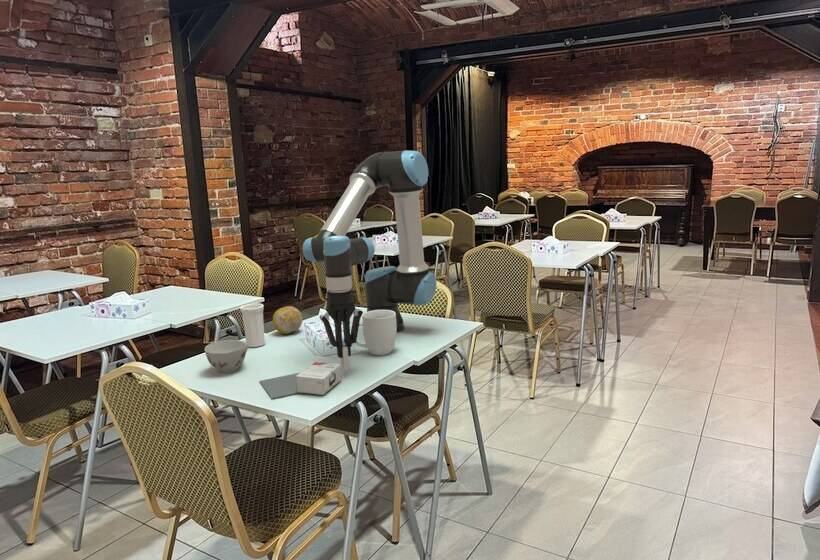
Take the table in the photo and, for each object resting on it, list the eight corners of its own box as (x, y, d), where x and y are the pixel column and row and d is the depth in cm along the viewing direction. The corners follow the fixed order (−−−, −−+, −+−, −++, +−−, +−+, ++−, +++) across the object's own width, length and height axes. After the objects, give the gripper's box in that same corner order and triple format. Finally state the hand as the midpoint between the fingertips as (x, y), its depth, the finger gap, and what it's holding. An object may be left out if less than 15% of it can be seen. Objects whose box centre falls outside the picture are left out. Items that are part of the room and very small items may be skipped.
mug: (351, 359, 185) (348, 319, 182) (353, 348, 196) (351, 311, 193) (398, 356, 185) (396, 317, 183) (397, 346, 196) (395, 308, 194)
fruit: (268, 334, 217) (266, 308, 215) (291, 327, 225) (289, 302, 223) (285, 339, 210) (283, 312, 208) (308, 331, 218) (306, 306, 216)
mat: (318, 370, 177) (318, 368, 177) (335, 385, 163) (335, 384, 163) (259, 382, 169) (259, 380, 169) (271, 399, 156) (271, 398, 156)
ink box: (316, 376, 170) (295, 393, 159) (314, 360, 168) (294, 375, 158) (343, 379, 167) (324, 396, 156) (342, 362, 166) (322, 378, 155)
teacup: (226, 379, 172) (223, 354, 170) (198, 373, 179) (195, 348, 177) (263, 363, 185) (260, 339, 183) (235, 358, 191) (233, 335, 189)
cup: (250, 350, 199) (246, 310, 196) (240, 345, 205) (235, 306, 202) (271, 344, 204) (267, 305, 201) (261, 340, 210) (257, 302, 207)
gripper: (355, 284, 174) (360, 359, 178) (314, 290, 168) (320, 367, 173) (365, 288, 167) (370, 366, 172) (322, 295, 161) (328, 375, 166)
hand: (345, 367), depth 172 cm, fingers closed
